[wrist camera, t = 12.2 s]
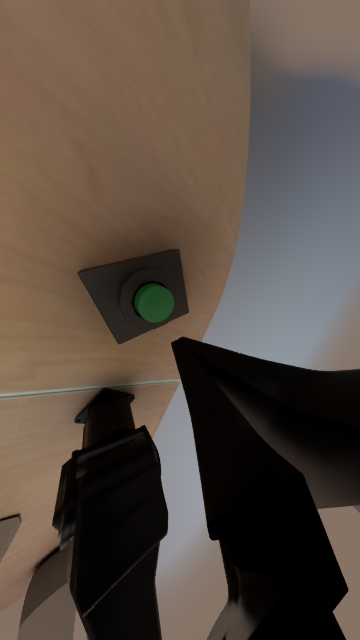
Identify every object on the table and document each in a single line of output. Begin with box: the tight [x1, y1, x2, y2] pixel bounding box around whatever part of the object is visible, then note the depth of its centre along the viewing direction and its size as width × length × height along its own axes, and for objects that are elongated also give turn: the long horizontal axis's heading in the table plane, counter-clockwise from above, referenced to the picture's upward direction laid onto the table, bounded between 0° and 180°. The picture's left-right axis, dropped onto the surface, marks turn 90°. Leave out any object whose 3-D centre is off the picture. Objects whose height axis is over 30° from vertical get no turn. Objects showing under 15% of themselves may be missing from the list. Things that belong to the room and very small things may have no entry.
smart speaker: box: [17, 545, 76, 640], centre depth 26 cm, size 10×9×14 cm
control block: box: [78, 249, 189, 344], centre depth 16 cm, size 11×9×4 cm
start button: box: [134, 284, 174, 323], centre depth 14 cm, size 4×4×2 cm
